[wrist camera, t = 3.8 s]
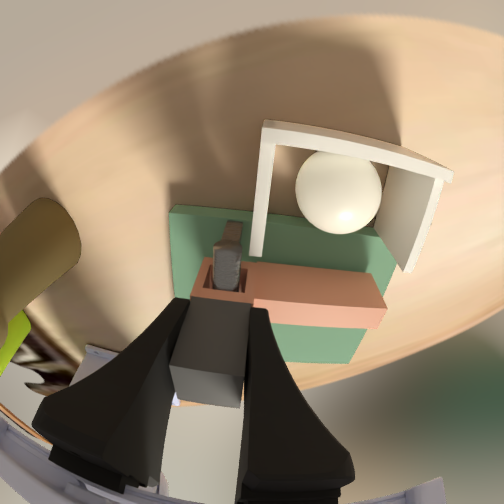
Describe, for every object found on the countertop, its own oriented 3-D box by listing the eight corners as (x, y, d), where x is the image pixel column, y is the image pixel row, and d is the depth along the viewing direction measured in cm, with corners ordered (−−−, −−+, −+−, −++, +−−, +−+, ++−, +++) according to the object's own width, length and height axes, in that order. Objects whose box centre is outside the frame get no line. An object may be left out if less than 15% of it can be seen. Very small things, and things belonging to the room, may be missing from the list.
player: (207, 284, 15) (175, 398, 9) (207, 247, 14) (166, 364, 8) (360, 299, 15) (394, 406, 9) (373, 265, 14) (422, 375, 8)
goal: (254, 211, 15) (248, 262, 10) (264, 119, 12) (262, 127, 8) (380, 228, 15) (415, 279, 10) (401, 146, 12) (454, 171, 8)
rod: (219, 354, 19) (212, 392, 17) (223, 217, 14) (210, 252, 11) (235, 357, 19) (230, 395, 17) (247, 220, 14) (241, 256, 11)
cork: (25, 245, 17) (-55, 330, 8) (30, 184, 14) (-81, 267, 5) (75, 281, 18) (2, 387, 9) (88, 222, 16) (-22, 340, 6)
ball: (306, 122, 10) (292, 160, 14) (300, 218, 10) (286, 234, 14) (394, 142, 10) (362, 172, 14) (397, 232, 10) (360, 243, 14)
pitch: (184, 337, 20) (181, 349, 19) (175, 204, 15) (168, 212, 14) (346, 352, 20) (348, 363, 19) (397, 231, 15) (405, 241, 14)
